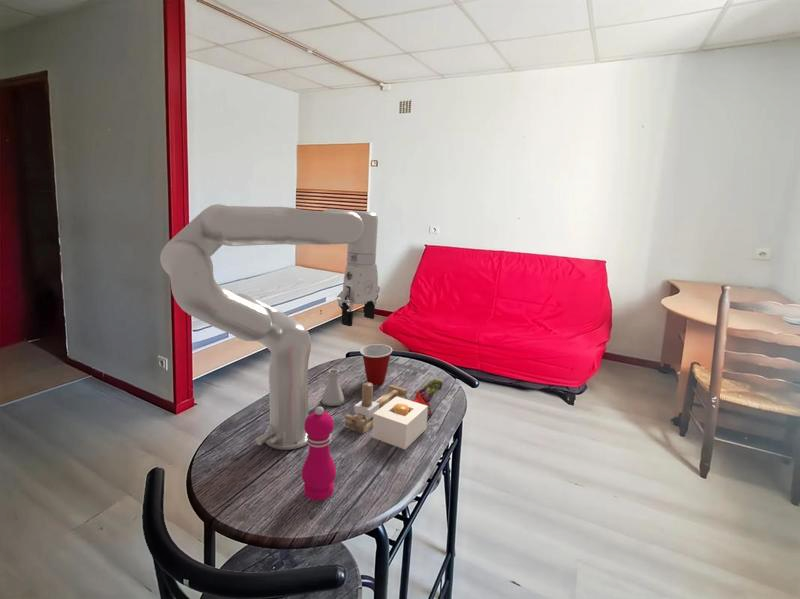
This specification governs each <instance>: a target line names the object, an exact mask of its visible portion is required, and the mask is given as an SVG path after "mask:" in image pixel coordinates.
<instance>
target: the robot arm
mask: <svg viewBox="0 0 800 599" xmlns="http://www.w3.org/2000/svg"><path fill="white" fill-rule="evenodd" d="M378 223H379V219H378V215H377V214H376V212H372V211H363V210H361V211H360V210H354V211H351V210H350V211H349V210H344V209H336V208H329V209H325V210H323V211H321V210H320V211H319V210H307V209H301V208H297V207H296V208H294V207H290V206H288V207H287V206H247V205H246V206H245V205H244V206H242V205H240V206H239V205H237V206H236V205H226V204H225V205H224V204H220V203H219V204H218V203H217V204H212V205H209V206H207V207H206V208H205V209H203V210H202V211H200V213H199V214H198V215H196V217H194V218H193V219H192V220H190V222H189V223H188V224H187V225H185V227H183V228H182V229H181V230H179V232H177V233H176V235H174V236H173V237H172V238H171V239H169V241H168V242H167V243H166V244H165V245H164V247H163V249H162V250H161V252H160V258H159V259H160V265H161V267H162V268H163V270H164V272H165V273H166V274H168V276H169V280H170V288H171V293H172V296H173V298H174V300H175V302H176V303H177V305H178V306H179V308H180V309H181V310H182V311H183V312H185V313H187V315H189V316H191V317H193V318H194V319H197V320H199V321H202V322H204V323H206V324H208V325H209V326H212V327H213V328H217V329H218V330H220V331H223V332H225V333H226V334H227V333H228V334H230V335H232V336H234V337H236V338H237V339H239V340H242V341H245V342H258V343H260V344H262V345H263V346H265V347H266V348H267V349H268V351H270V354H271V359H270V363H269V368H268V386H269V388H268V389H269V391H268V392H269V394H268V396H269V424H268V425H266V426H267V427H266V430H265V431H264V433H263V434H262V435H259V436H258V437H256V438H255V443H256V444H257V445H258V446H261V445H263V444H266V445H267V446H269V447H271V448H273V449H277V450H285V451H286V450H289V451H290V450H295V449H299V448H302V447H304V446H306V445H307V444H308V443H307V435H308V434H307V433H306V431H305V427H304V426H305V421H306V419H307V417H308V416H309V404H308V403H309V394H308V393H309V360H310V354H311V349H312V338H311V335H310V332H309V331H308V330H307V328H306V327H305V326H304V325H303V324H302V323H300V322H299V321H297V320H295V319H294V318H292V317H290V316H288V315H287V314H286V313H284V312H282V311H280V310H278V309H275V308H274V307H272V306H270V305H268V304H266V303H264V302H262V301H260V300H259V299H256V298H254V297H253V296H251V295H248V294H245V293H235V292H233V291H231V290H230V289H227V288H225V287H223V286H221V285H219V284H218V283H217V282H216V279H215V277H214V264H213V260H212V256H213V255H214V254H215V253H216V252H217V251H218V250H219V249H220V248H221V247H222V246H226V247H227V246H228V247H246V246H247V247H249V246H265V245H266V246H268V245H269V246H270V245H271V246H272V245H273V246H274V245H292V246H294V245H295V246H297V245H298V246H299V245H301V246H302V245H323V246H324V245H326V246H327V245H347V252H346V264H345V265H346V266H345V269H344V276H343V285H342V291H341V292H340V293H338V295H336V300H337V302H338V307H339V309H340V311H341V324H342V325H343V326H347V327H353V321H354V320H353V319H354V311H353V308H354V306H355V305H361V304H362V305H363V304H364V305H363V306H364V309H363V317H364V318H366V319H371V320H373V319H375V311H376V305H377V299H378V298H379V293H380V291H381V287H380V286H379V281H378V280H379V278H378V276H379V275H378V267H377V263H376V258H377V241H378V240H377V239H378V226H379V224H378ZM348 304H349V305H348ZM308 445H309V444H308Z"/></svg>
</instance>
